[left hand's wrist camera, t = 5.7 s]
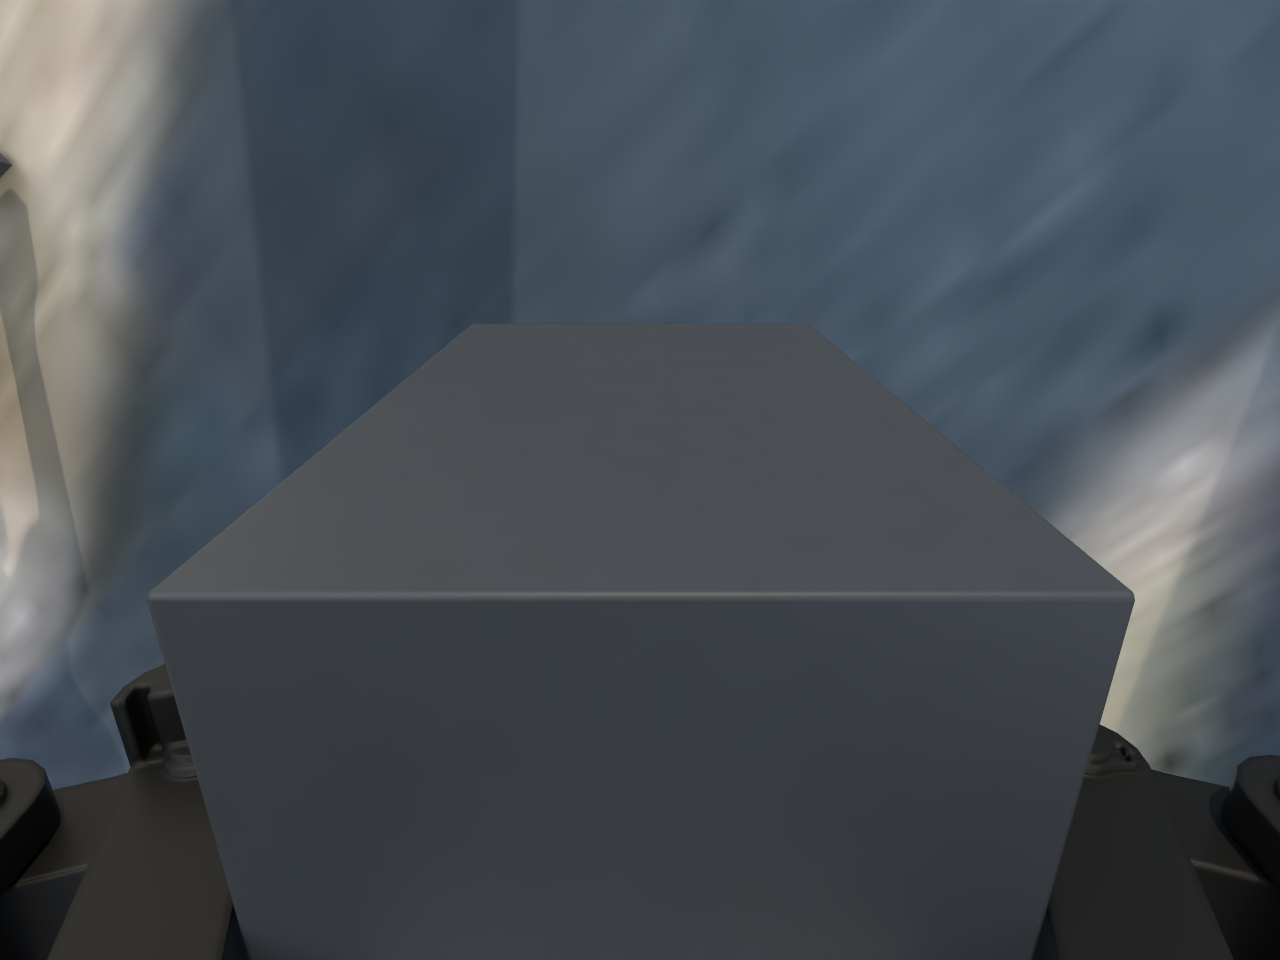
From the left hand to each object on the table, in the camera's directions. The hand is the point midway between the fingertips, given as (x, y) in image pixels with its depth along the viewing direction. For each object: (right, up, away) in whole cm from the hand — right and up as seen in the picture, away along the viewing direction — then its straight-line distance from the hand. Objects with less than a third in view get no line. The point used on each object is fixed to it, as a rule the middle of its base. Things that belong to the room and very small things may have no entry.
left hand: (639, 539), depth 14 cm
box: (0, -9, +4) cm, 10 cm away
